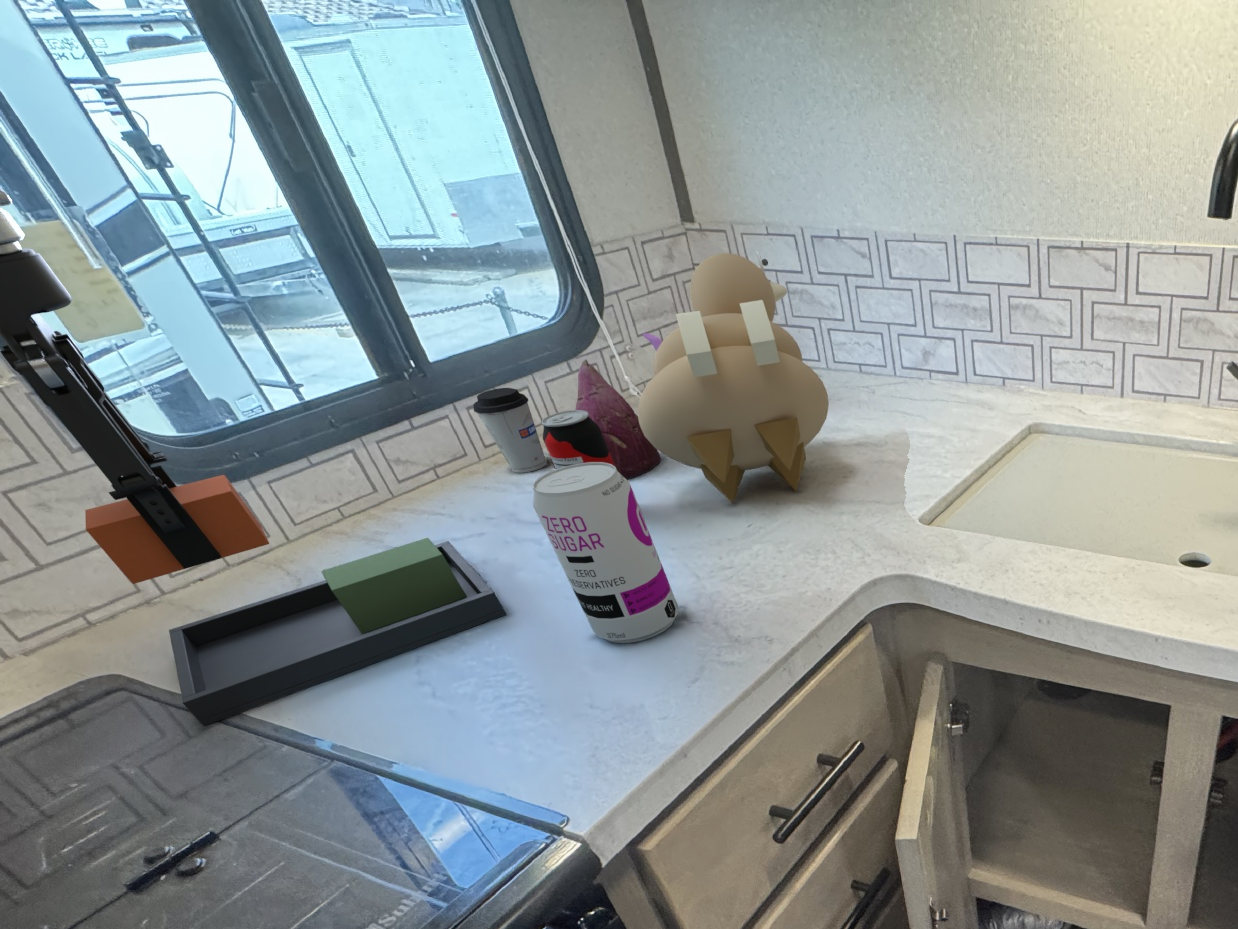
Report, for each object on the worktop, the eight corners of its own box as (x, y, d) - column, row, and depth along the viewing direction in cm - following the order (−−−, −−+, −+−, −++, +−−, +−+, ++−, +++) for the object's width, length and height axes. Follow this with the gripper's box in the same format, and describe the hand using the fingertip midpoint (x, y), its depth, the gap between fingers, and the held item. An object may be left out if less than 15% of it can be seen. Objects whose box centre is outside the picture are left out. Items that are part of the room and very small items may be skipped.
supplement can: (678, 597, 87) (622, 453, 77) (682, 634, 81) (622, 484, 72) (597, 615, 85) (529, 470, 76) (595, 654, 80) (521, 503, 70)
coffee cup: (494, 477, 117) (458, 403, 111) (516, 459, 122) (482, 387, 116) (543, 474, 117) (509, 399, 110) (563, 455, 122) (532, 383, 116)
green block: (350, 614, 88) (320, 570, 84) (452, 579, 92) (427, 537, 89) (362, 634, 84) (331, 590, 81) (467, 597, 89) (442, 554, 86)
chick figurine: (774, 162, 90) (551, 187, 85) (847, 415, 90) (629, 454, 86) (796, 322, 119) (631, 347, 114) (850, 512, 120) (688, 545, 115)
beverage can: (642, 511, 105) (604, 412, 97) (599, 530, 101) (555, 429, 93) (612, 502, 108) (573, 405, 100) (569, 520, 104) (524, 422, 96)
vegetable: (604, 482, 122) (553, 371, 115) (672, 464, 122) (625, 352, 115) (578, 492, 113) (521, 372, 106) (652, 472, 113) (600, 351, 106)
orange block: (130, 563, 75) (84, 509, 72) (261, 525, 80) (224, 474, 76) (133, 584, 71) (85, 529, 68) (269, 544, 76) (231, 490, 73)
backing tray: (187, 651, 85) (168, 629, 83) (460, 561, 97) (448, 540, 95) (203, 726, 74) (182, 703, 73) (506, 614, 87) (494, 592, 85)
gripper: (28, 256, 56) (262, 568, 72) (36, 235, 67) (237, 509, 83) (-127, 277, 53) (154, 601, 68) (-92, 251, 64) (143, 535, 79)
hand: (199, 550), depth 75 cm, fingers closed on orange block, 6 cm apart
